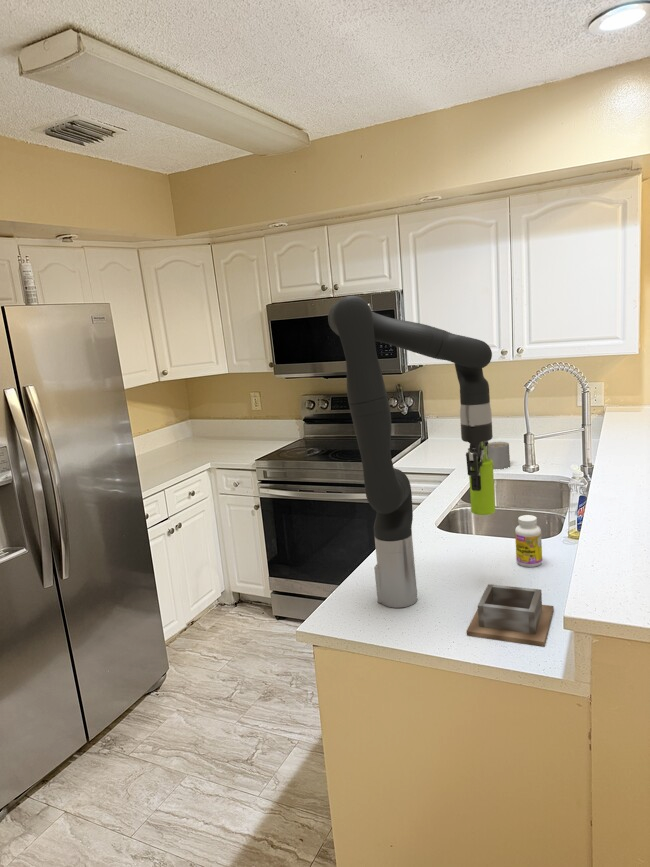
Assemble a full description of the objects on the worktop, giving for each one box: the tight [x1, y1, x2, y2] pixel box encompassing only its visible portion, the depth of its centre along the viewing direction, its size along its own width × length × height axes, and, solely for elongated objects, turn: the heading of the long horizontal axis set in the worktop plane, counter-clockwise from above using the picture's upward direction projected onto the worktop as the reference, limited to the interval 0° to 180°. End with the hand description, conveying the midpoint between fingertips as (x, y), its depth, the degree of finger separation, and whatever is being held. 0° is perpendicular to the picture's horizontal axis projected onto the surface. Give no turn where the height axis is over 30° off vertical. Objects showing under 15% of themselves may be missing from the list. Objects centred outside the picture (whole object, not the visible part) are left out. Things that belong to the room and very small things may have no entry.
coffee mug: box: [488, 441, 511, 470], centre depth 262 cm, size 13×10×10 cm
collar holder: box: [466, 583, 555, 647], centre depth 134 cm, size 16×16×6 cm
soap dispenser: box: [468, 442, 496, 516], centre depth 151 cm, size 6×7×20 cm
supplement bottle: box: [514, 514, 543, 568], centre depth 162 cm, size 7×7×13 cm
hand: (479, 486), depth 152 cm, fingers closed on soap dispenser, 6 cm apart
